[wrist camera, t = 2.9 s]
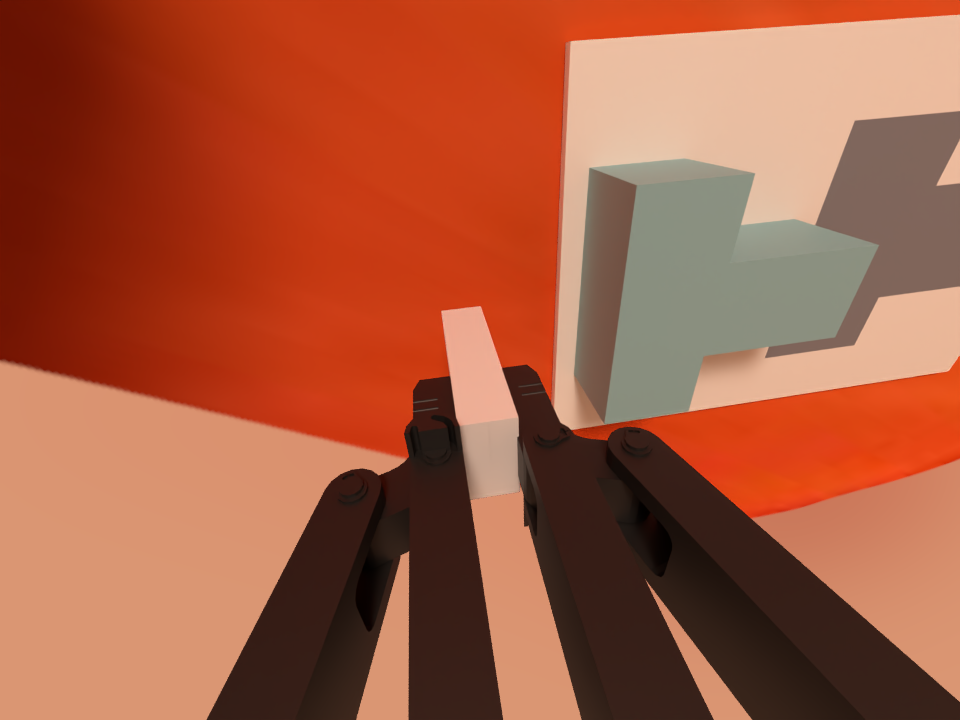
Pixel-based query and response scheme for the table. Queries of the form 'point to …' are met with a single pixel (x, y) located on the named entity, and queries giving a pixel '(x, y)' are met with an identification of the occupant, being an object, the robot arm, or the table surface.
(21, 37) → the table surface
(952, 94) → the mat
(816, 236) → the t block
